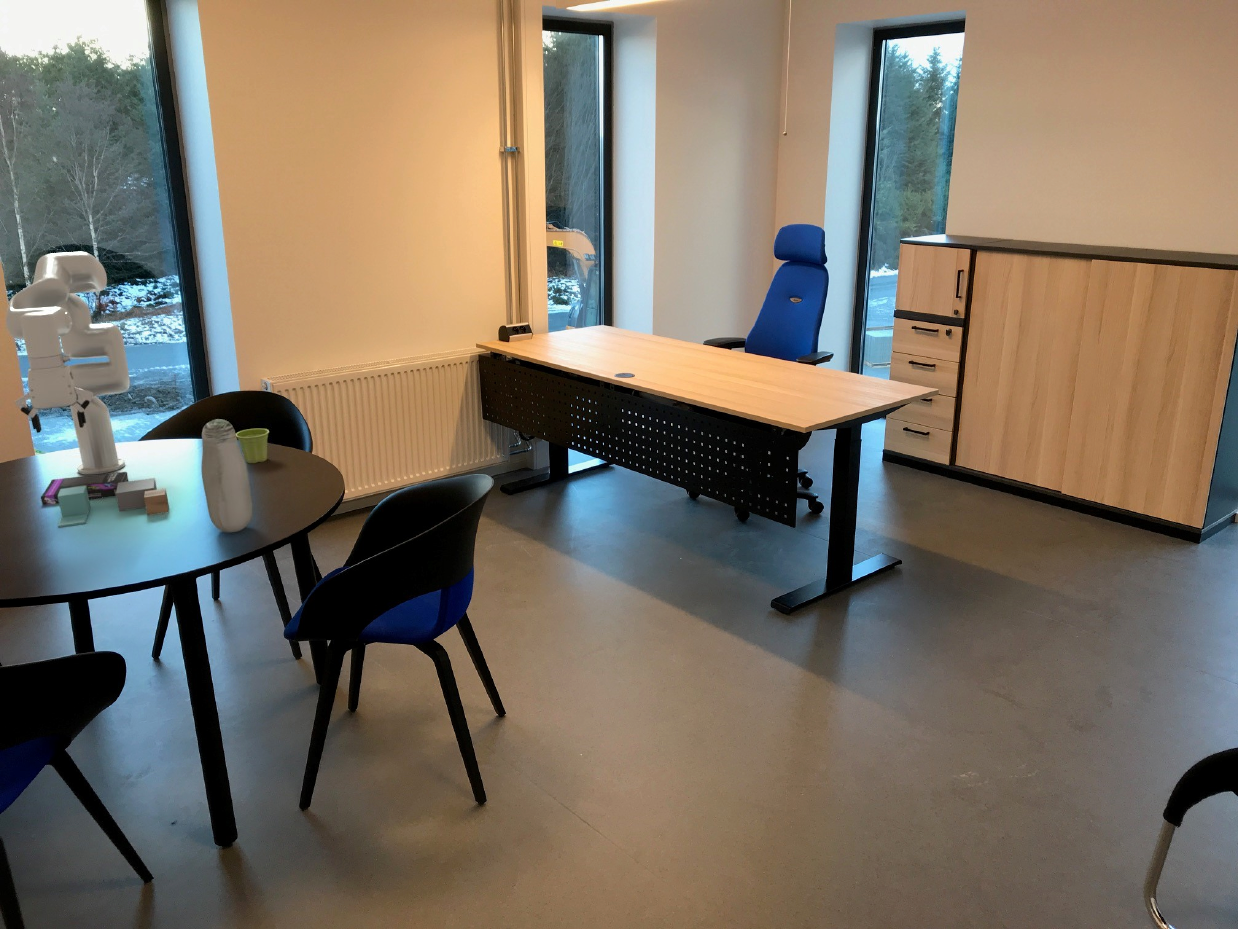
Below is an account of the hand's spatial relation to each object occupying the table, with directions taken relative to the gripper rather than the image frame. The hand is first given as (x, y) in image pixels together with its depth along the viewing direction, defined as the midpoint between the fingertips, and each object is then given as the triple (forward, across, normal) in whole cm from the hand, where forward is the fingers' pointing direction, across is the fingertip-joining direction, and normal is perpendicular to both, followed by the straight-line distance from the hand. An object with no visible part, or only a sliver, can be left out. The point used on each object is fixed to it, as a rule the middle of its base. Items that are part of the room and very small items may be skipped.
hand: (60, 428), depth 251 cm
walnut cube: (+24, -19, +6) cm, 31 cm away
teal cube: (+23, +1, -3) cm, 24 cm away
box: (+24, 0, -19) cm, 31 cm away
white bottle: (+24, -37, +29) cm, 53 cm away
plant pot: (+23, -45, -28) cm, 58 cm away
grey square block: (+23, -14, -3) cm, 27 cm away
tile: (+23, +1, +4) cm, 24 cm away
